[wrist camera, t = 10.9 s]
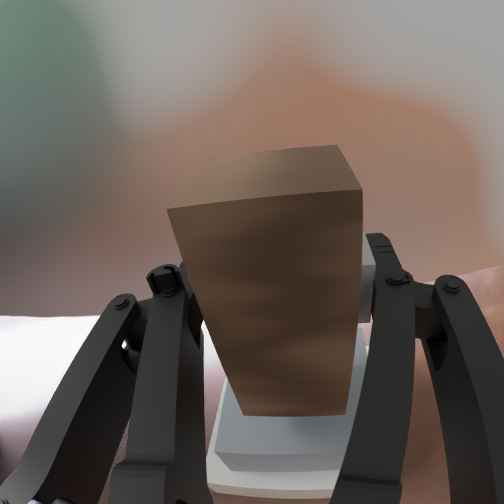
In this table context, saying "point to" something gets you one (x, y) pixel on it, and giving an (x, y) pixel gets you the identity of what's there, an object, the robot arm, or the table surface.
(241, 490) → the tower base
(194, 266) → the walnut block
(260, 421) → the tower top
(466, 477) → the robot arm
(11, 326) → the table surface
